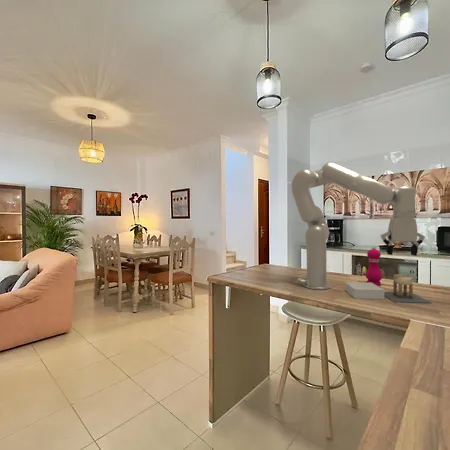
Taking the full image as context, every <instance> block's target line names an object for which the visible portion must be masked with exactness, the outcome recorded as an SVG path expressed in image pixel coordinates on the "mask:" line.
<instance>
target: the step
mask: <svg viewBox="0 0 450 450" xmlns="http://www.w3.org/2000/svg"><path fill="white" fill-rule="evenodd" d="M344 288H345V289H344V290H345V292H346V291H347V292H346V293H348V294H349V295H350V296H351V297H353V299H360V300H361V299H365V300H366V299H367V300H385V296H384V292H385V289H384V288H382V287H380V286H377V285H375V284H373V283H367V282H359V281H358V282H355V281H354V282H352V281H351V282H349V281H346V282H345V285H344Z"/></svg>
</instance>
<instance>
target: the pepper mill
mask: <svg viewBox="0 0 450 450" xmlns="http://www.w3.org/2000/svg"><path fill="white" fill-rule="evenodd" d="M366 256H367V257H368V268H367V271H366V273H365V278H366V279H367V280H366V283H373V284H375V285H377V286H378V287H380V285H382V282H381V280H382V278H383V276H382V275H383V274H382V273H381V272H382V271H381V270H380V268H379V267H380V266H379V262H380V258H381V252H380V251H379V250H378V249H377V248H376V246H372V247H371V249H369V250H367V253H366Z"/></svg>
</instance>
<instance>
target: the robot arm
mask: <svg viewBox="0 0 450 450" xmlns="http://www.w3.org/2000/svg"><path fill="white" fill-rule="evenodd" d="M331 183H333V184H335V185H337V186H339V187H342V188H344V189H346V190H348V191H350V192H355V193H358V194H360V195H363V196H365V197H366V198H369V199H371V200H372V201H375V202H376V203H378V204H380V205H386V204H387V205H388V204H393V207H392V208H393V210H392V218H390V220H389V223H388V229H387V232H385V233H383V234H380V239H381V240H382V242H383V243H384V244H385V245H386V250H385V251H386V253H387V254H386V255H390V256H392V255H393V254H394V253H393V251H394V250H393V249H394V247H393V244H394V243H395V242H399V243H401V242H403V243H406V242H407V243H411V246H410V255H411V256H418V255H417V254H418V247H420V245H421V244H422V243H423V241H424V240H425V238H426V235H423V234H421V233H420V232H418V225H417V220H416V218H415V217H417V216H418V213H417V212H415V209H416V208H415V207H416V203H415V202H416V188H415V187H414V186H408V185H407V186H405V185H403V186H397V187H395V188H394V187H391V186H389V185H387V184H385V183H382V182H380V181H377V180H375V179H373V178H371V177H368V176H365V175H363V174H362V173H359V172H357V171H354V170H352V169H349V168H347V167H344V166H342V165H340V164H338V163H335V162H332V161H331V162H329V161H328V162H326V163H324V165H322V167H321V168H320V169H317V170H314V171H312V170H311V169H308V168H305V169H301V170H299V171H298V172H296V174H295V175H294V176H293V178H292V181H291V193H292V196H293V198H294V202H295V206H296V207H297V210H298V213H299V216H300V219H301V220H302V221H303V222H304V223H306V225H307V227H308V228H307V229H306V232H305V236H304V238H305V245H306V247H305V248H306V275H305V276H304V277H297V278H296V281H297V283H300V284H301V283H303V287H305V288H307V289H309V290H310V289H311V290H319V291H321V290H322V291H323V290H328V289H330V288H331V286H330V284H329V283H327V279H328V278H327V240H328V239H329V236H330V229H329V227H328V223H327V222H326V219H325V216H324V214H323V213H324V212H322V210H321V208H320V207H319V206H317V205H316V204H315V202H314V200H313V196H312V194H311V192H310V189H312V188H316V187H320V186H325V185H328V184H331Z"/></svg>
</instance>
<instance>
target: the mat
mask: <svg viewBox="0 0 450 450" xmlns="http://www.w3.org/2000/svg"><path fill="white" fill-rule="evenodd" d="M384 298H387V299H388V300H390V301H391V302H393V303H398V302H400V303H402V304H403V303H404V304H405V303H406V304H432V302H431V301H430V300H427V299H425V298H423V297H421V296H419V295H417V294H415V293H413V299H410V298H409V291H407V296H405V295H404V291H402V298H399V291H397V295H393V291H384Z"/></svg>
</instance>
